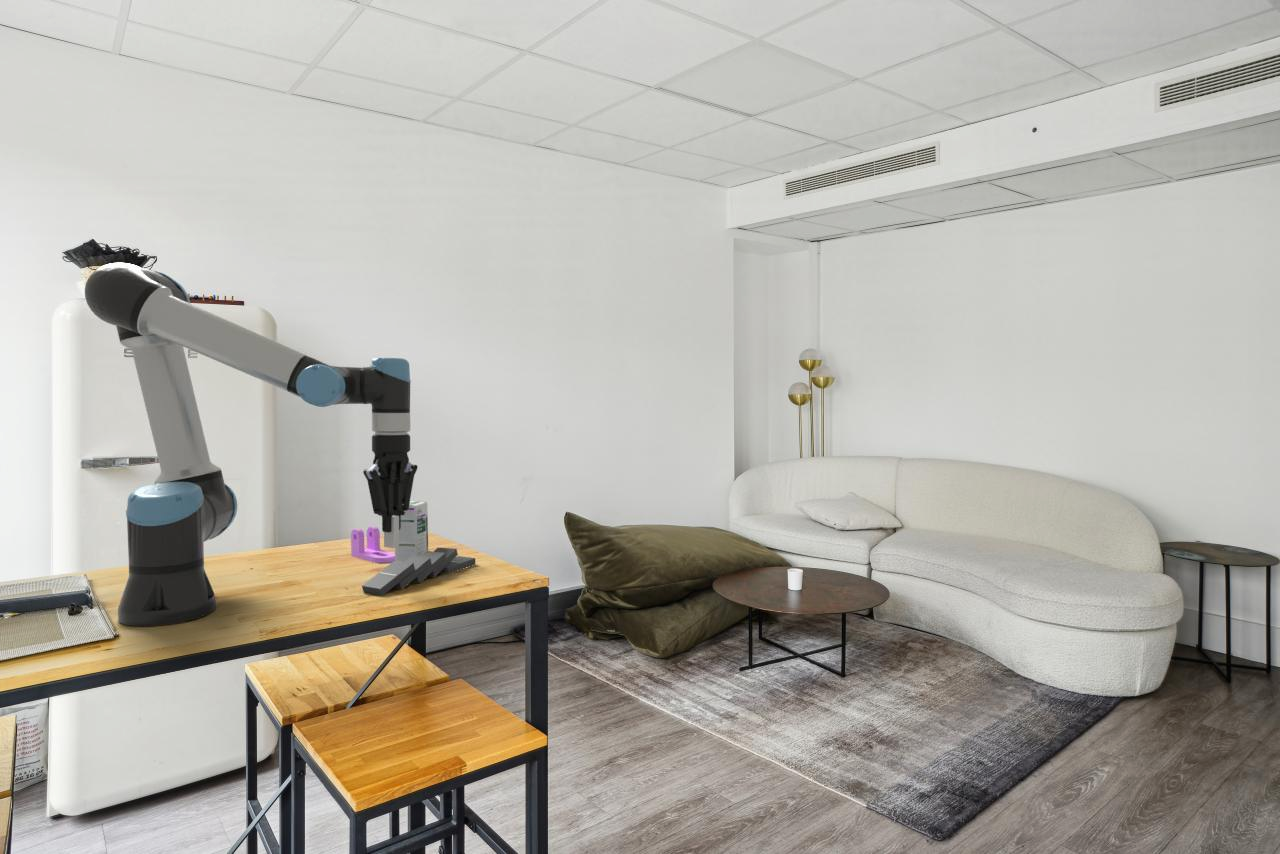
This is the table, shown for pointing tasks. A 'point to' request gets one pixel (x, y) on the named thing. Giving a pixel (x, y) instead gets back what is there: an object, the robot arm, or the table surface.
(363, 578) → the table surface
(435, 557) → the domino
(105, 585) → the table surface
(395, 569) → the domino
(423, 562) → the domino
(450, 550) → the domino
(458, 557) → the domino
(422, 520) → the syrup box
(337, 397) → the robot arm
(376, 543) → the bracket
